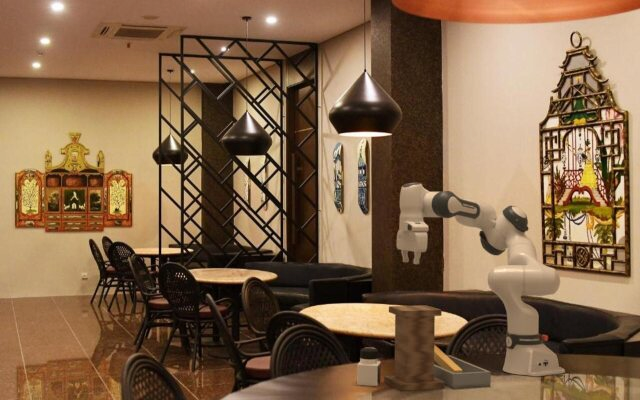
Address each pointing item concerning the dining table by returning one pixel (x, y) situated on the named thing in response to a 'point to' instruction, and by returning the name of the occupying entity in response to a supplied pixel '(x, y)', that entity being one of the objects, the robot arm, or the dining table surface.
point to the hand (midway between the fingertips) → (410, 263)
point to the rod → (445, 361)
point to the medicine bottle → (369, 368)
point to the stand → (414, 348)
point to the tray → (463, 375)
